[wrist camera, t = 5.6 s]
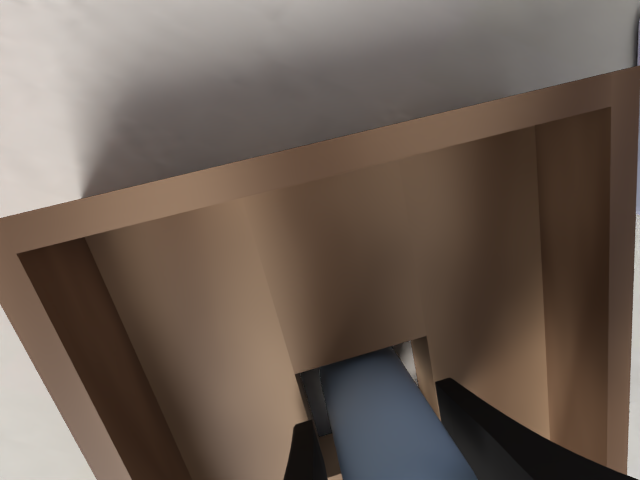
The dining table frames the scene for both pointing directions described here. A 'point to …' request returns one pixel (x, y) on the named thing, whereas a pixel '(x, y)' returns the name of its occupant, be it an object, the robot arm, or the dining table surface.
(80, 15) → the dining table surface
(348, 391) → the peg
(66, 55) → the dining table surface
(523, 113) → the walnut box
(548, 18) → the dining table surface
